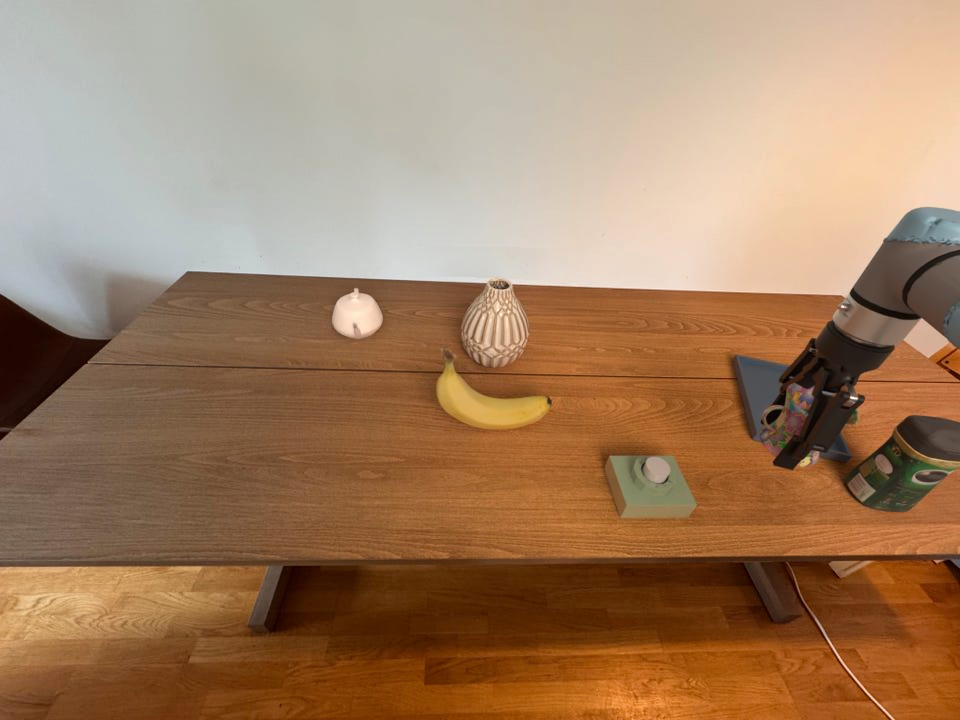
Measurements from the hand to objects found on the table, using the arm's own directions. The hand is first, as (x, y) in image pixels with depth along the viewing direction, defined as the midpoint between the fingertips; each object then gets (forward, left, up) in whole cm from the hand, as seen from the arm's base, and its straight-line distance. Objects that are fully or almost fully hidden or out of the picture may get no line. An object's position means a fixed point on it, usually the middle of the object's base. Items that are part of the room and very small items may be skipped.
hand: (775, 444), depth 69 cm
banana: (-1, +47, -13) cm, 49 cm away
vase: (+20, +53, -13) cm, 58 cm away
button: (-7, +17, -7) cm, 20 cm away
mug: (0, 0, -1) cm, 1 cm away
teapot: (+18, +88, -13) cm, 91 cm away
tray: (+27, -13, -12) cm, 32 cm away
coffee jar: (+7, -24, -13) cm, 28 cm away
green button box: (-7, +17, -12) cm, 22 cm away
